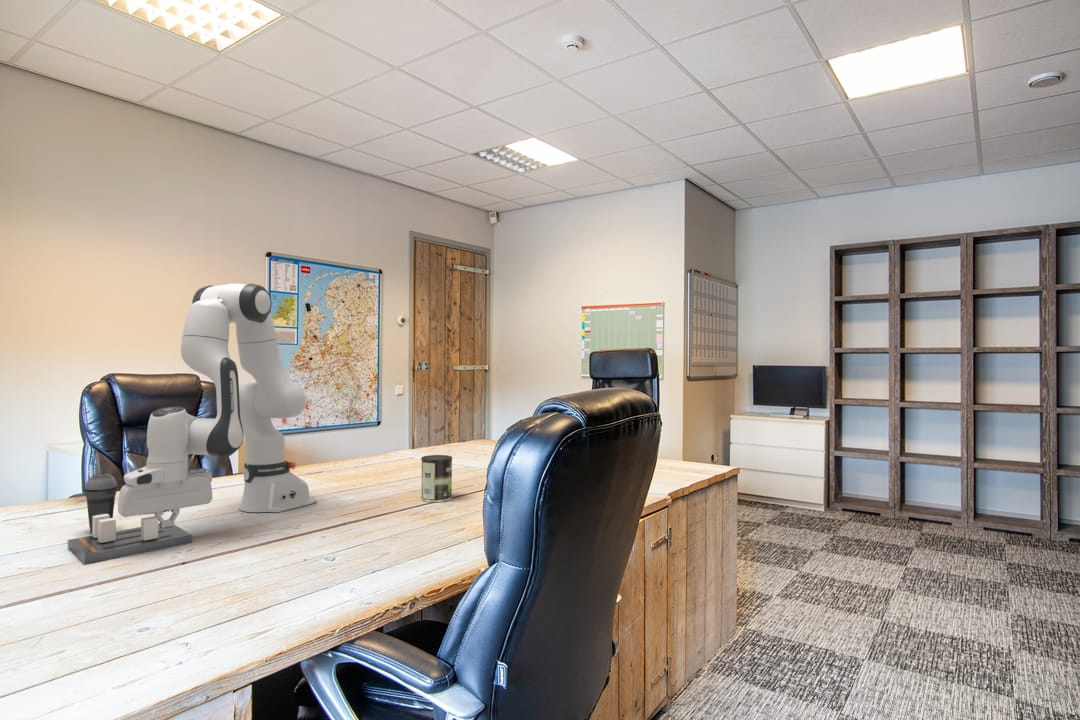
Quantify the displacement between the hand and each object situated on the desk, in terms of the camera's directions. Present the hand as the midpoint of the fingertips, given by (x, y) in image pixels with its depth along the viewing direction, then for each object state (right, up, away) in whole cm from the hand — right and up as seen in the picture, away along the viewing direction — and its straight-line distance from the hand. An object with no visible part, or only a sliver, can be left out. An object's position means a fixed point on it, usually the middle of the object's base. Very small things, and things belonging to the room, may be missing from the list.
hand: (166, 527), depth 148 cm
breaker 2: (-12, -2, -5) cm, 13 cm away
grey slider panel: (-8, -4, -1) cm, 9 cm away
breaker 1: (-16, -2, -1) cm, 16 cm away
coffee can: (+59, -5, +51) cm, 78 cm away
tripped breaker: (-3, -2, -3) cm, 4 cm away
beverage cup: (-24, -4, +10) cm, 27 cm away
